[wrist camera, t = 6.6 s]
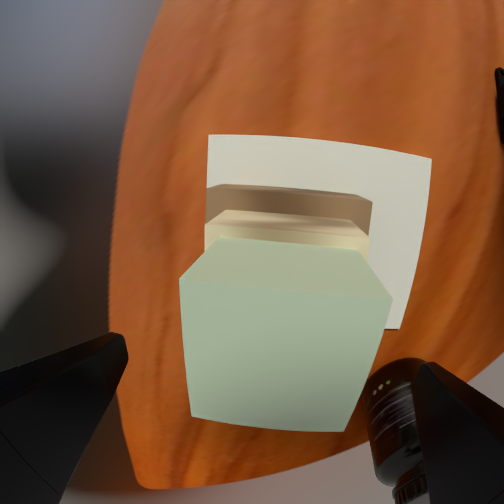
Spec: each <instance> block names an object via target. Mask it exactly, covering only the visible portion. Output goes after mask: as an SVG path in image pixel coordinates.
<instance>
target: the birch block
mask: <svg viewBox="0 0 504 504" xmlns="http://www.w3.org/2000/svg"><path fill="white" fill-rule="evenodd" d="M219 237H229V238H241V239H252V240H263V241H274V242H285V243H296V244H306V245H317V246H327V247H337V248H347V249H357V250H358V251H359V252H360V254H361V255H362V256H363V258H364V259H365V260H366V262H367V257H368V251H369V245H370V238H369V237H368V236H367V235H366V234H365V233H364V232H363V231H362V230H361V229H360V228H359V227H358V226H357V225H356V224H354V223H353V222H352V221H351V220H345V219H335V218H325V217H314V216H303V215H292V214H279V213H266V212H252V211H237V210H225V211H223V212H222V213H221V214H219V215H218V216H216V217H215V218H213V219H212V220H211V221H209V222H208V223H206V224H205V251H206V250H207V249H208V248H209V247H210V246H211V245H212V244H213V243H214V242H215V241H216V240H217V239H218V238H219Z"/></svg>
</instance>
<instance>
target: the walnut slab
mask: <svg viewBox="0 0 504 504" xmlns="http://www.w3.org/2000/svg"><path fill="white" fill-rule="evenodd" d="M372 204H373V202H372V201H370V200H368V199H365V198H363V197H361V196H359V195H356V194H348V193H340V192H330V191H321V190H310V189H299V188H287V187H274V186H258V185H240V184H220V185H216V186H213V187H209V188H206V223H208V222H209V221H211V220H212V219H213V218H215V217H216V216H218V215H219V214H221V213H222V212H223V211H225V210H237V211H252V212H266V213H279V214H292V215H303V216H314V217H325V218H335V219H345V220H351V221H352V222H353V223H354V224H356V225H357V226H358V227H359V228H360V229H361V230H362V231H363V232H364V233H365V234H366V235H367V236H368V235H369V228H370V220H371V212H372Z"/></svg>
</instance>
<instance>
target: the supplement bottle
mask: <svg viewBox="0 0 504 504" xmlns="http://www.w3.org/2000/svg"><path fill="white" fill-rule="evenodd" d="M424 362H426V361H424V360H422V359H419V358H403V359H398V360H395V361H393V362H390V363H388V364H387V365H385V366H383V367H382V368H380V369H379V370H377V371H376V372H375V373H374V374H373V375H372V376H371V377H370V378H369V380H368V381H367V383H366V384H365V386H364V388H363V391H362V396H361V400H362V406H363V411H364V416H365V421H366V425H367V430H368V436H369V441H370V446H371V452H372V457H373V463H374V469H375V474H376V477H377V478H378V479H379V481H381V482H382V483H383V484H385V485H387V486H391V487H394V489H393V490H392V495H393V499H395V504H430V500H429V492H428V485H427V479H426V473H425V467H424V461H423V456H422V451H421V446H420V442H419V437H418V432H417V426H416V419H415V411H414V404H413V397H412V390H411V387H412V382H413V380H414V378H415V376H416V374H417V371H418V369H419V367H420V365H421V364H422V363H424Z"/></svg>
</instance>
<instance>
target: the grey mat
mask: <svg viewBox="0 0 504 504" xmlns="http://www.w3.org/2000/svg"><path fill="white" fill-rule="evenodd" d="M431 161H432V159H430V158H425V157H421V156H417V155H412V154H407V153H402V152H397V151H392V150H387V149H381V148H375V147H369V146H363V145H356V144H349V143H342V142H334V141H325V140H316V139H306V138H294V137H279V136H260V135H209V141H208V165H207V188H209V187H213V186H216V185H220V184H240V185H258V186H274V187H287V188H299V189H310V190H321V191H330V192H340V193H348V194H356V195H359V196H361V197H363V198H365V199H368V200H370V201H372V202H373V204H372V212H371V220H370V228H369V235H368V237H369V238H370V245H369V251H368V257H367V263H368V265H369V266H370V267H371V269H372V270H373V271H374V273H375V274H376V276H377V277H378V278H379V280H380V281H381V283H382V284H383V285H384V287H385V288H386V290H387V291H388V292H389V294H390V295H391V297H392V298H393V301H392V305H391V308H390V312H389V315H388V319H387V322H386V325H385V329H399V328H400V325H401V322H402V319H403V316H404V312H405V309H406V305H407V302H408V298H409V295H410V291H411V287H412V283H413V279H414V275H415V270H416V266H417V262H418V257H419V252H420V247H421V242H422V236H423V230H424V224H425V218H426V211H427V203H428V195H429V186H430V175H431Z"/></svg>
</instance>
